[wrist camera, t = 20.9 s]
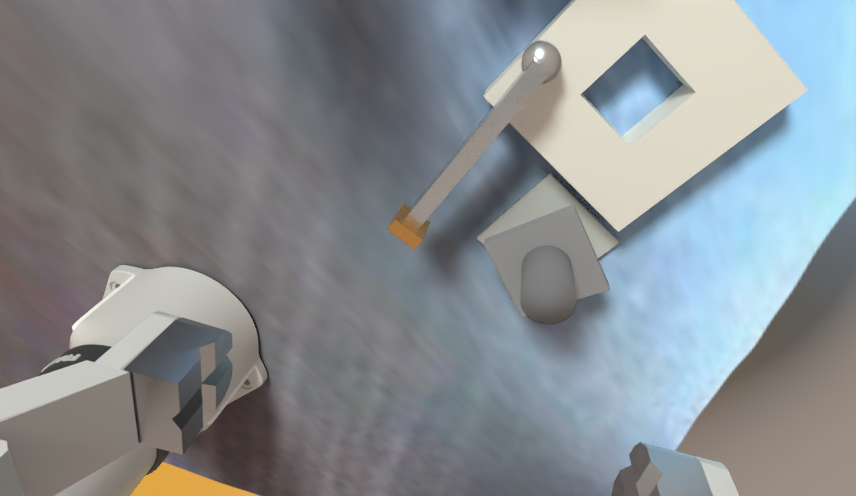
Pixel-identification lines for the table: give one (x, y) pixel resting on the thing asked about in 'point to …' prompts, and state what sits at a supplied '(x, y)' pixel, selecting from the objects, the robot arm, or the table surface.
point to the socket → (672, 119)
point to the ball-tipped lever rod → (478, 140)
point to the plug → (547, 265)
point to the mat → (545, 201)
